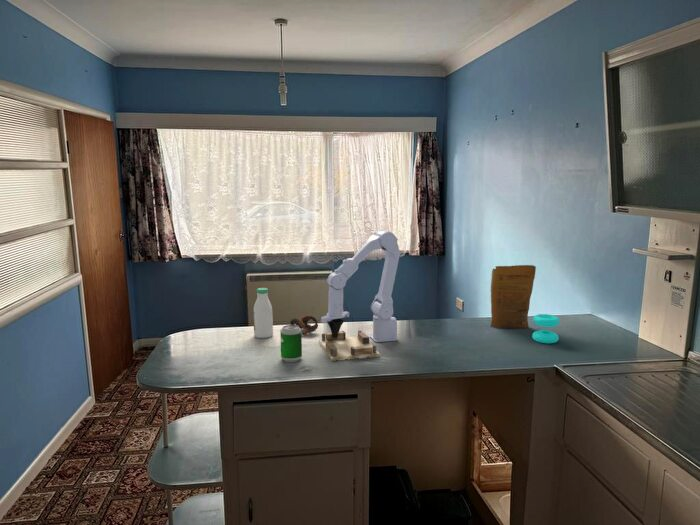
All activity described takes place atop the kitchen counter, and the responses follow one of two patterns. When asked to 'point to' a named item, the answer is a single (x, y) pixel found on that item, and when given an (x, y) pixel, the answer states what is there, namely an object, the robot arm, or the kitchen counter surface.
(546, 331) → the donuts
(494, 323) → the pancake mix bag
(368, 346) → the stool seat
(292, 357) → the soda can
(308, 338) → the kitchen counter surface
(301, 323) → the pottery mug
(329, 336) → the folding leg
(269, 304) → the milk bottle
